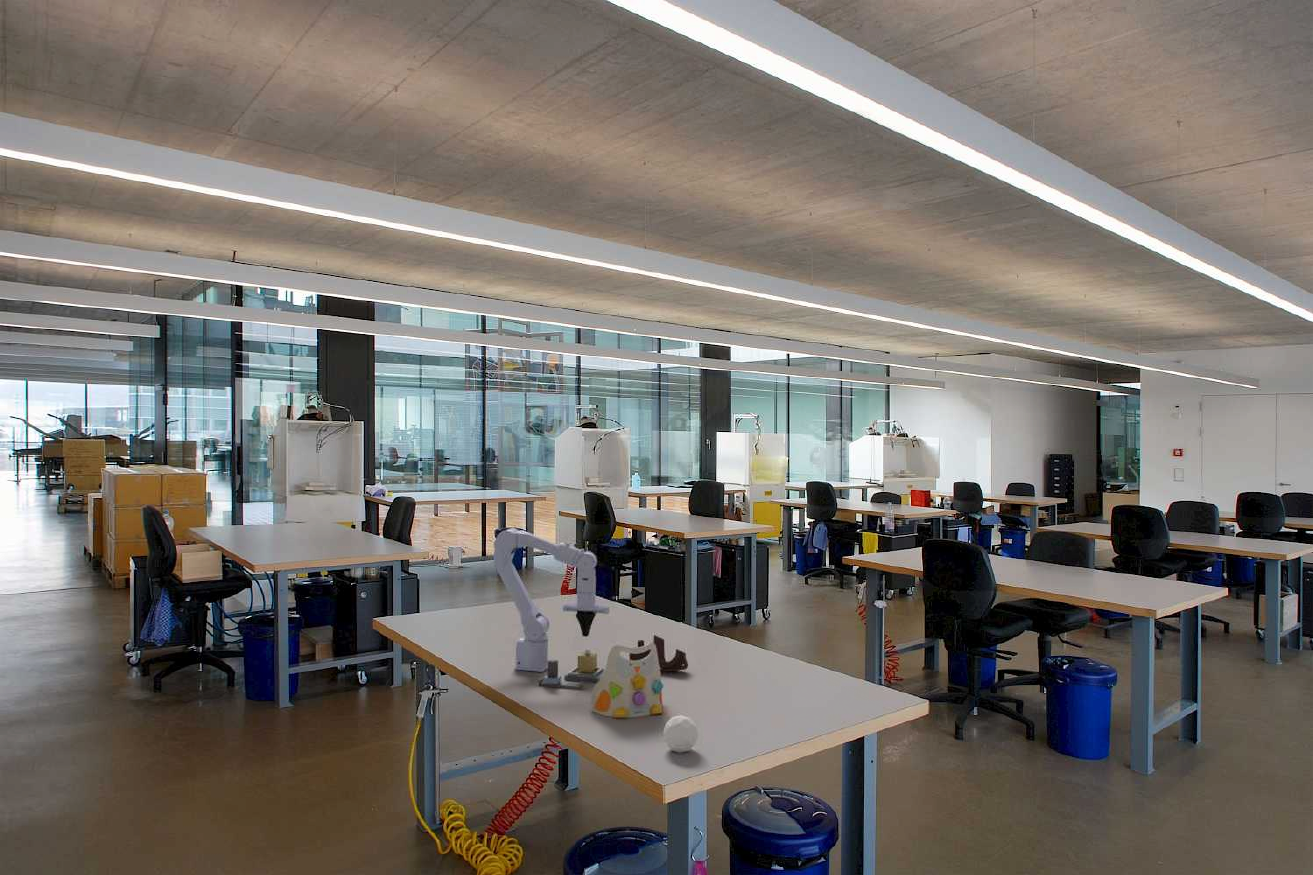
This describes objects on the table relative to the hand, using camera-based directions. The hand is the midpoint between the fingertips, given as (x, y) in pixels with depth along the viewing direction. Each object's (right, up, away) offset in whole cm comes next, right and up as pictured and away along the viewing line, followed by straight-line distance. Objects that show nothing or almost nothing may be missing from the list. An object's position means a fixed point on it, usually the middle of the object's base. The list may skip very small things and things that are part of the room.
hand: (585, 635), depth 244 cm
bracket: (+23, -11, +2) cm, 26 cm away
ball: (+27, -10, -65) cm, 71 cm away
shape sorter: (+16, -10, -39) cm, 43 cm away
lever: (-8, -10, -17) cm, 21 cm away
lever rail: (-5, -10, -18) cm, 21 cm away
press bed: (+3, -10, -8) cm, 13 cm away
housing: (+1, -9, -8) cm, 12 cm away
